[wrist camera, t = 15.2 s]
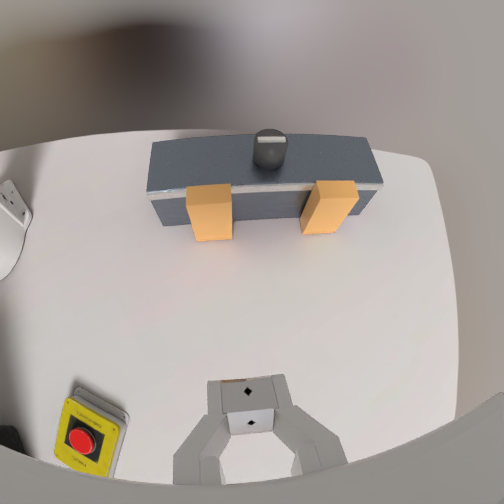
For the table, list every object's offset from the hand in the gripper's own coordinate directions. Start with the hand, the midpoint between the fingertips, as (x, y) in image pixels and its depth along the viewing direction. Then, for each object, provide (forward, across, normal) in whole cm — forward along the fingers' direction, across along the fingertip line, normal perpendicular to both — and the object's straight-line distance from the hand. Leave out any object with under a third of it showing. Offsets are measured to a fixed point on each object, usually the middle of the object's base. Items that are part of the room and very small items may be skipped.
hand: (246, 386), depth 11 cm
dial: (+28, -6, -5) cm, 30 cm away
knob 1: (+35, +1, +1) cm, 35 cm away
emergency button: (+10, +22, +27) cm, 37 cm away
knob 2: (+35, -14, +1) cm, 38 cm away
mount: (+35, -6, +2) cm, 36 cm away
